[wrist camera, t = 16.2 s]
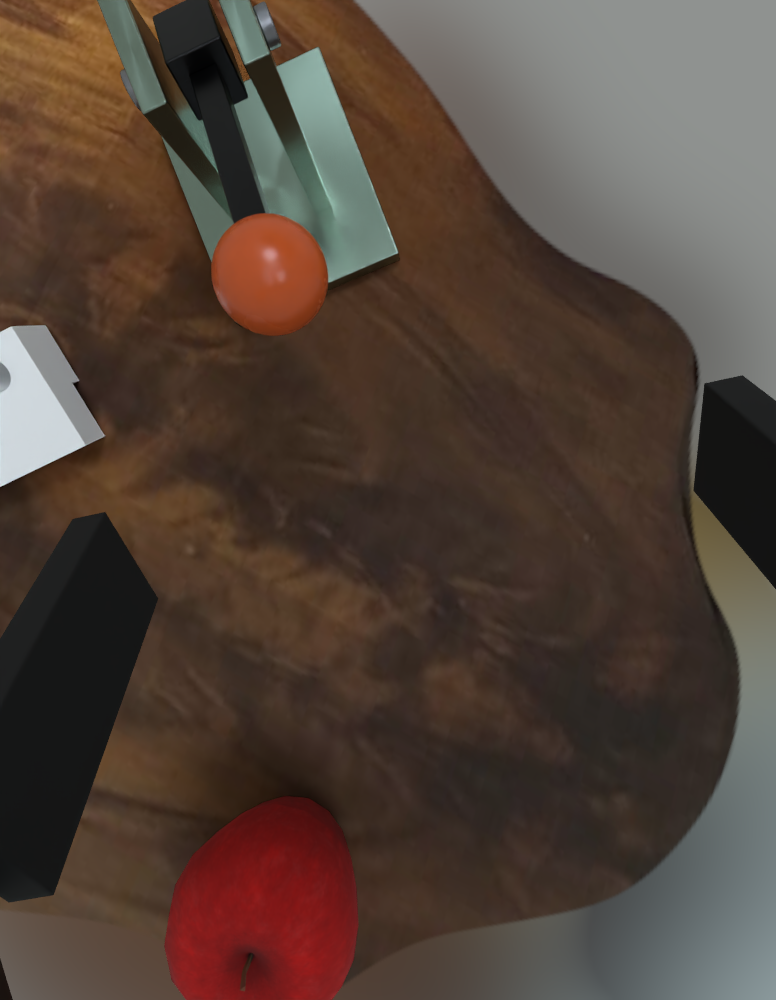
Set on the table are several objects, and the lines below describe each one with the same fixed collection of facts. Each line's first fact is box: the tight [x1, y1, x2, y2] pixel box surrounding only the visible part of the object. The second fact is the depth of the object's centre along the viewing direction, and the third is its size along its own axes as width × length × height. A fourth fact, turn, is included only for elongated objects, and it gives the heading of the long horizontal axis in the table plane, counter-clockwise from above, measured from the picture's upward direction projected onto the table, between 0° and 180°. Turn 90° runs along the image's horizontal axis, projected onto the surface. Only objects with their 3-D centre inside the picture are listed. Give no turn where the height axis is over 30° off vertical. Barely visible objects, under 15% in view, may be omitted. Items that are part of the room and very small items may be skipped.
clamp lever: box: [153, 0, 328, 336], centre depth 21 cm, size 14×4×4 cm, turn 21°
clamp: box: [97, 0, 400, 327], centre depth 28 cm, size 12×10×14 cm
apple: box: [165, 796, 358, 1000], centre depth 32 cm, size 10×10×11 cm
